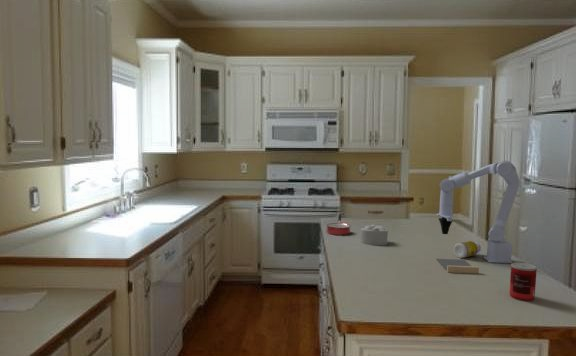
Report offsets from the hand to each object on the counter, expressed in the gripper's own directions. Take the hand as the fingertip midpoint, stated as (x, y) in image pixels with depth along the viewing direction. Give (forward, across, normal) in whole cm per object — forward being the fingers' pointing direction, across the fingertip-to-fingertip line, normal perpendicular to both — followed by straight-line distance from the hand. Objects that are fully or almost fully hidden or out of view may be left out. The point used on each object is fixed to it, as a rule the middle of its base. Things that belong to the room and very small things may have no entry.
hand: (444, 233), depth 209 cm
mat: (+9, +20, 0) cm, 22 cm away
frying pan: (+10, -48, -49) cm, 69 cm away
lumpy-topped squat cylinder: (+10, -18, -31) cm, 37 cm away
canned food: (+10, +56, +12) cm, 58 cm away
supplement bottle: (+6, +7, +5) cm, 10 cm away
